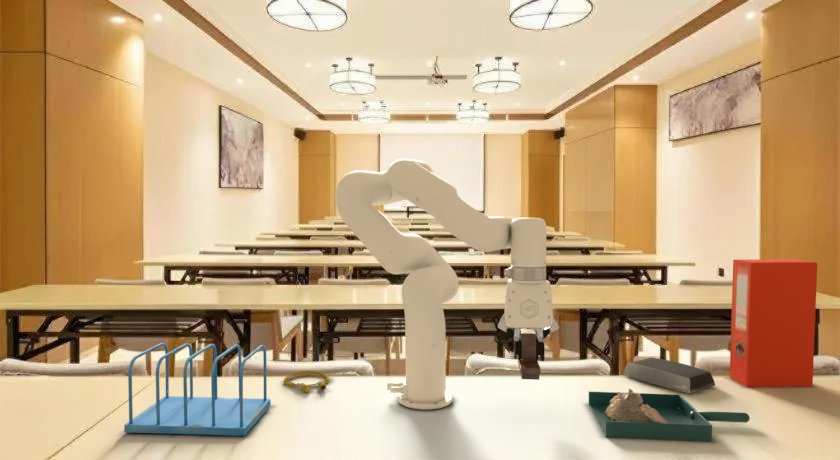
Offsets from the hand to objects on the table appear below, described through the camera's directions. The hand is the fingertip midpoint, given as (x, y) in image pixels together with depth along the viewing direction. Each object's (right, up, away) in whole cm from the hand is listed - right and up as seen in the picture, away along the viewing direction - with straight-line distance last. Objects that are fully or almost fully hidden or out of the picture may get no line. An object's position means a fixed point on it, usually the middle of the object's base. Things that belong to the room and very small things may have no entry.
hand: (527, 357), depth 128 cm
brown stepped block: (0, -3, 0) cm, 3 cm away
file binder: (+68, -12, +26) cm, 74 cm away
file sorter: (-71, -13, -1) cm, 72 cm away
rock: (+22, -13, -5) cm, 26 cm away
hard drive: (+42, -12, +26) cm, 51 cm away
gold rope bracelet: (-53, -12, +24) cm, 60 cm away
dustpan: (+30, -13, -3) cm, 33 cm away
